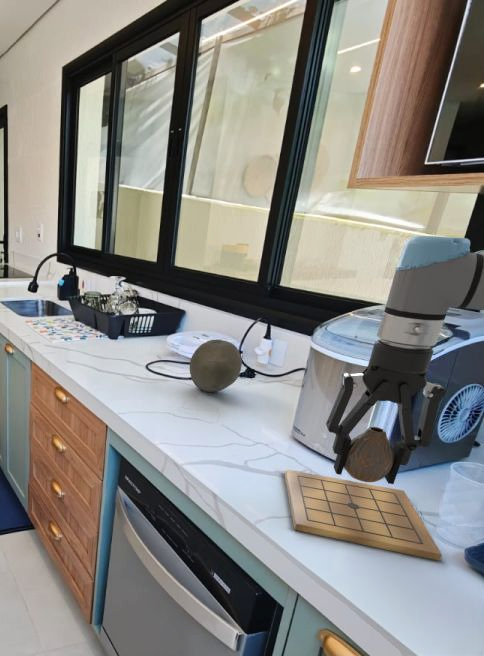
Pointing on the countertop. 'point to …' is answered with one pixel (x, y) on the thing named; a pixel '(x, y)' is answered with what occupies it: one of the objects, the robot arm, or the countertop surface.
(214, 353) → the cantaloupe
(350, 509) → the board
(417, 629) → the countertop surface
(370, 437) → the vase
